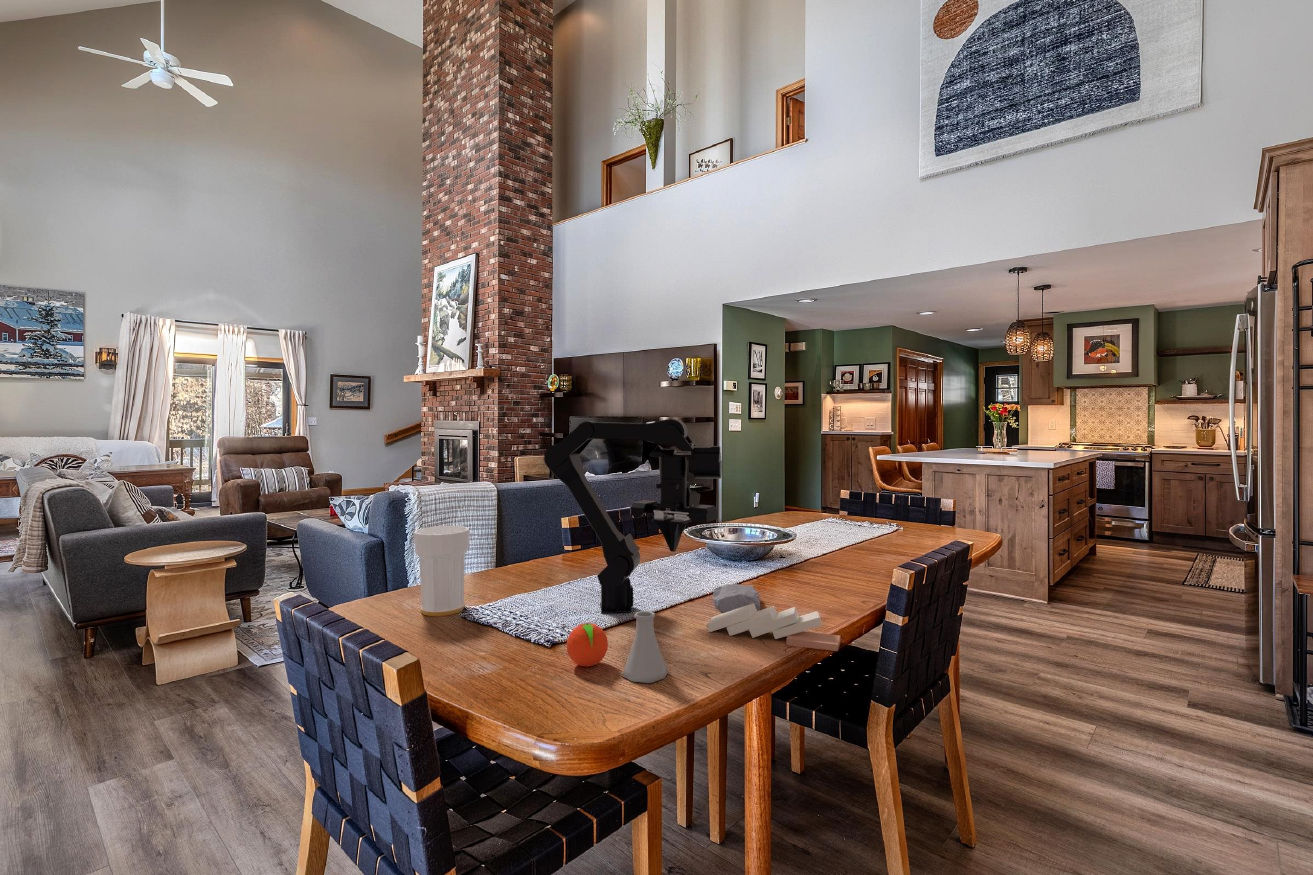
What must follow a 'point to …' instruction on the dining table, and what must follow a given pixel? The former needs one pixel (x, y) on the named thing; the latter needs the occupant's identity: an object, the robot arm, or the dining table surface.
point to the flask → (645, 652)
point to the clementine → (587, 644)
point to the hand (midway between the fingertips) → (673, 551)
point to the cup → (442, 568)
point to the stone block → (735, 597)
